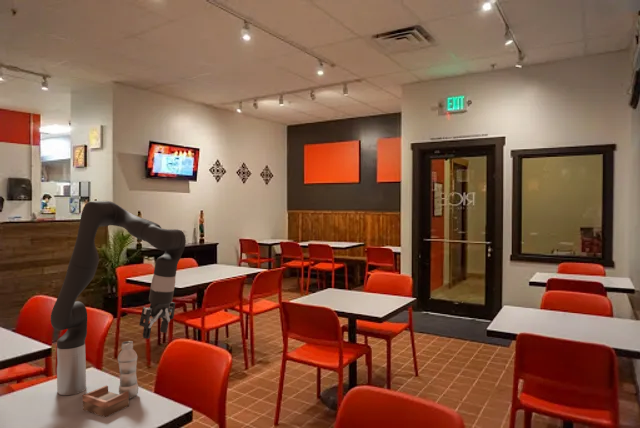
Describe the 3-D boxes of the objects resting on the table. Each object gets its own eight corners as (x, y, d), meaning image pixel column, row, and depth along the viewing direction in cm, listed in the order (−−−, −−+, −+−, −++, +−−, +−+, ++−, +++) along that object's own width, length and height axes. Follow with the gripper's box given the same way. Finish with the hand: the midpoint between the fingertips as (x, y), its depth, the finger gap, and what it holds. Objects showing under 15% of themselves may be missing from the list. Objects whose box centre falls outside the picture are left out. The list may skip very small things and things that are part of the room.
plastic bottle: (131, 401, 156) (130, 346, 155) (114, 400, 157) (113, 345, 157) (142, 393, 162) (141, 340, 162) (126, 392, 164) (124, 339, 163)
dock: (82, 409, 150) (82, 395, 150) (106, 399, 158) (106, 385, 158) (105, 417, 145) (105, 402, 145) (128, 406, 153) (128, 391, 152)
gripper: (167, 282, 155) (159, 327, 156) (138, 288, 142) (130, 337, 142) (184, 287, 153) (177, 333, 153) (157, 293, 139) (149, 343, 140)
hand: (154, 335), depth 148 cm, fingers open, 8 cm apart
